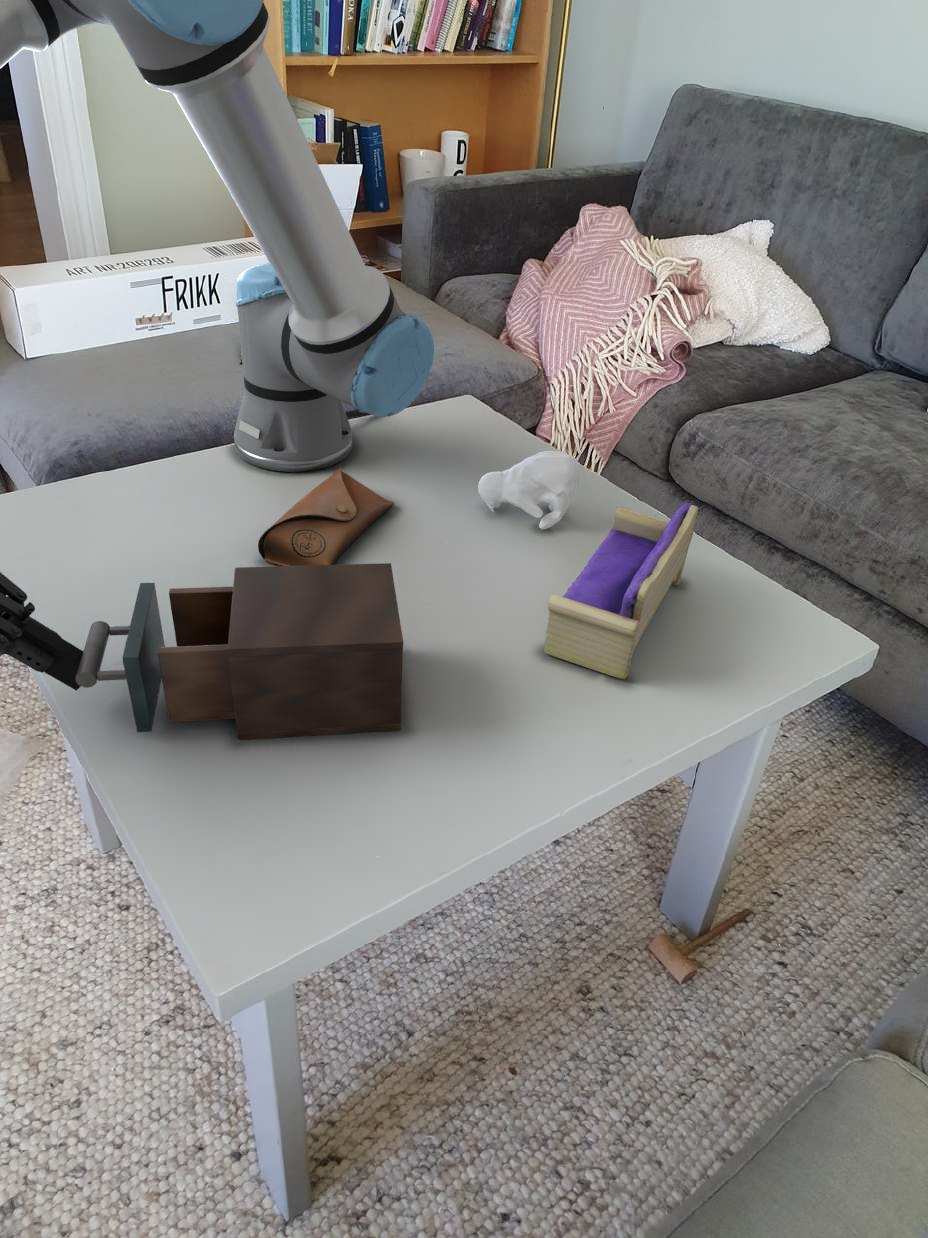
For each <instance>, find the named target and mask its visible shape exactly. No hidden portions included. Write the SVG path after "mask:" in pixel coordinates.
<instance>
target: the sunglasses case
mask: <svg viewBox="0 0 928 1238" xmlns="http://www.w3.org/2000/svg"><path fill="white" fill-rule="evenodd" d="M342 469H343V467H339V468H337V470H336V471H335V472H333V474H332V475H330V476H329V477H327V478H326V479H324V480H323V481H322V482H321V483H320V484H318V485H317V486H316V487H314V488H313V489H312V490H311V491H310V492H309V493H306V495H304V496H303V497H302V498H301V499H300V500H298V502H296V503H295V504H294V505H293V506H292V507H291V508H290V509H288V510H287V511H286V512H285V513H284V514H283V515H282V516H281V517H280V518H278V520H277V521H275V523H274V524H272V525H271V526H270V527H269V528H267V529H266V530H265V531H264V532H263V533H262V535H260V537H259V539H258V542H257V548H258V553H259V555H260V557H261V558H262V559H263V560H264V562H265V563H268V564H272V565H275V566H308V565H336V562H337V561H338V559H339V558H340V557H341V556H342V555H343V554H344V553H345V552H346V551H347V550H348V548H349V547H351V545H352V544H354V542H355V541H356V540H357V539H359V538H360V537H361V535H362V534H364V533H365V532H366V531H367V530H368V529H369V528H370V527H371V526H372V525H374V524H375V523H376V521H378V520H379V519H380V518H381V517H382V516H383V515H385V514H386V512H388V511H389V510H390V509H391V508H392V507H393V506H394V505H395V502H394V501H391V500H388V499H385V498H384V497H382V496H381V495H380V494H378V493H377V492H375V491H373V490H372V489H370V488H369V487H368V486H366V485H364V484H363V483H361V482H360V481H358V480H357V479H355V478H354V477H353V476H351V475H349V474H348V473H346V472H344V471H343V470H342Z"/></svg>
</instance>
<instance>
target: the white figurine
mask: <svg viewBox="0 0 928 1238" xmlns="http://www.w3.org/2000/svg"><path fill="white" fill-rule="evenodd" d="M579 478H580V463H579V462H578V460H577V459H576V457H575V456H574V455H572V454H568V453H567V452H564V451H559V450H544V451H540V452H537V453H535V454H534V455H531V456H528V457H526V458H524V459H523V460H522V461H521V462H518V463H515V464H514V465H513V466H511V468H506V469H505V470H504V471H490V472H486V473H485V474H484V475H482V477H481V478H480V479H479V481H478V485H477V486H478V487H477V490H478V495H479V496H480V498H482V500H483V501H484V502H485V504H486V505H487V507H488V508H489V509H490V510H491V512H493V513H495V511H494V510H495V508H496V509H498V508H500V507H501V505H502V503H508V504H511V505H513V506H515V507H517V508H520V509H521V510H523V511H524V512H525V513H527V514H529V515H530V516H531V517H534V518H537V519H540V518H541V520H540V522H539V524H538V528H539V529H540V530H543V531H544V530H548V529H549V528H551V527H553V526H555V525H556V524H557V523H559V522H560V521H561V520H562V518H563V516H564V515H565V513H566V512H567V510H568V509H569V508H570V506H571V504H572V502H573V501H574V499H575V497H576V493H577V486H578V482H579ZM543 502H544V503H547V504H548V509H549V511H551V512H549V513H546V514H545V515H544V511H543V509H541V508H540V507H539V505H540V504H542V503H543Z"/></svg>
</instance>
